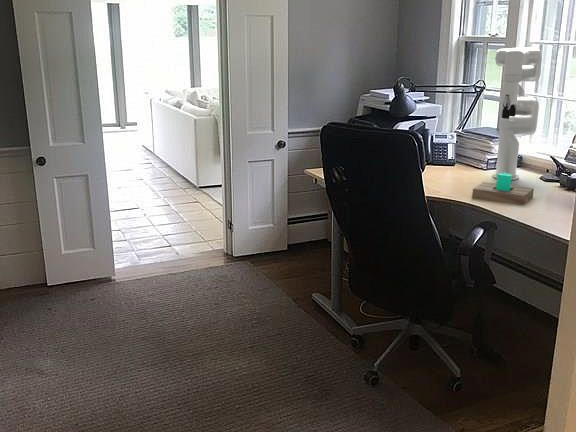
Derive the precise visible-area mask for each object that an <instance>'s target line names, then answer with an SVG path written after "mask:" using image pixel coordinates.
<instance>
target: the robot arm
mask: <svg viewBox="0 0 576 432" xmlns="http://www.w3.org/2000/svg"><path fill="white" fill-rule="evenodd" d="M494 58H495V65H497V66H498V67H504V69H503V80H502V82H503V88H502V94H501V100H500V104H501V105H502V110H501V112H502V113H501V117H500V118H499V119H498V135H499V138H498V148H497V158H496V159H497V161H496V168H495V172H494V173H492V178H494V179H497V174H499V173H504V172H505V173H509V174H511V175H512V177H511V181H513V180H519V178H520V176H519V175H518V174H517V166H518V159H519V150H520V149H519V148H520V147H519V146H520V142H519V140H518V138H517V137H516V136H515V135H521V136H522V135H523V136H525V135H526V136H532V135H533V134H535V133H536V131H537V128H538V127H537V125H538V117H539V108H540V107H539V101H538V99H537V98H535V97H526V96H525V89H524V88H523V87H522V85H521V84H519V83H522V82H537V81H538V80H539V79H540V77H541V73H542V52H541V50H540V49H539V48H538V47H512V48H511V47H510V48H500V49H498V50H497V52H496V53H495V57H494Z"/></svg>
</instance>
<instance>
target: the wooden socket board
mask: <svg viewBox="0 0 576 432" xmlns="http://www.w3.org/2000/svg"><path fill="white" fill-rule="evenodd" d="M534 190H535V188H534V187H526V186H520V185H519V186H518V185H513V184H511V186H510V191H503V190H496V182H495V183H494V182H488V181H487V182H486V181H483V182H482V183H480V184H478V185H477V186H475V187H473V188H472V192H471V193H472V194H471V195H472V196H471V197H472V199H479V200H486V201H494V202H501V203H508V204H513V205H514V204H515V205H522V206H523V205H525V204H527V203H528V202H529V201H530V200H532V199H533V197H534Z"/></svg>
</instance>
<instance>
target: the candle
mask: <svg viewBox="0 0 576 432" xmlns="http://www.w3.org/2000/svg"><path fill="white" fill-rule="evenodd" d="M511 177H512V175H511V174H509V173H505V172H504V173H499V174H497V178H496V181H495V183H496V190H503V191H510V186H511V185H512V180H511Z"/></svg>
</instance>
